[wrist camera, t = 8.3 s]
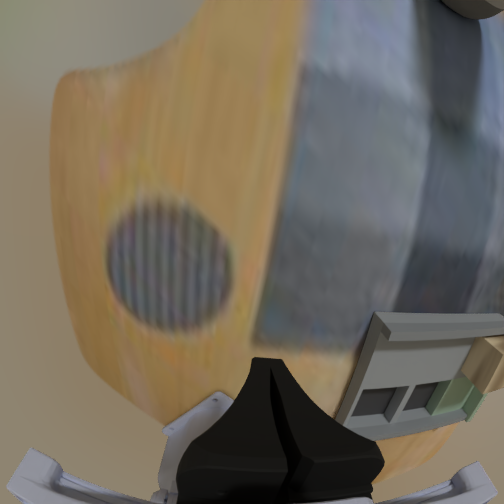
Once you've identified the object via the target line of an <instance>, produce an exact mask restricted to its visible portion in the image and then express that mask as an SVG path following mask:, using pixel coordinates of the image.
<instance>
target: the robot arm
mask: <svg viewBox="0 0 504 504" xmlns="http://www.w3.org/2000/svg"><path fill="white" fill-rule="evenodd" d="M215 399H217V400H215ZM162 432H163V433H164V434H165V435H167V436H169V437H168V440H167V444H166V448H165V451H164V455H163V459H162V462H161V466H160V470H159V473H158V483H159V487H160V490H159V491H156V492H154V493H153V495H152V497H151V500H150V501H146V500H142V499H138V498H135V497H131V496H128V495H125V494H121V493H118V492H115V491H112V490H109V489H106V488H103V487H101V486H98V485H95V484H92V483H90V482H87V481H85V480H82V479H80V478H77V477H75V476H73V475H71V474H69V473H66V472H64V471H63V469H62V468H61V466H60V464H59V463H58V462H57V461H55V460H54V459H52V458H51V457H49V456H47V455H45V454H43V453H41V452H39V451H37V450H36V449H34V448H30V449H29V450H28V452H27V453H26V455H25V456H24V458H23V460H22V461H21V463H20V464H19V466H18V468H17V469H16V471H15V472H14V474H13V476H12V478H11V479H10V481H9V482H8V484H7V486H6V487H7V489H8V490H9V491H10V492H11V493H12V494H13V495H14V496H15V497H16V498H17V499H18V500H19V501H20V502H21V503H22V504H374V503H373V500H372V497H371V493H372V491H373V487H372V484H371V483H372V481H373V480H374V479H375V478H376V477H377V475H378V474H379V473H380V472H381V470H382V468H383V467H384V463H385V461H384V459H383V456H382V454H381V451H380V449H379V447H378V446H377V444H376V442H375V441H372V440H370V439H368V438H365V437H363V436H361V435H359V434H357V433H355V432H353V431H351V430H349V429H348V428H346V427H344V426H343V425H341V424H340V423H338V422H337V421H335V420H334V419H333V418H331V417H330V416H329V415H327V414H326V413H325V412H324V411H323V410H322V409H320V408H319V407H318V406H317V405H316V404H315V403H314V402H313V401H312V400H311V399H310V398H309V396H308V395H307V394H306V393H305V392H304V391H303V389H302V388H301V387H300V386H299V384H298V383H297V382H296V380H295V379H294V377H293V376H292V374H291V373H290V371H289V370H288V368H287V367H286V365H285V363H284V362H283V360H282V359H272V358H259V357H254V358H253V359H252V362H251V368H250V372H249V375H248V377H247V379H246V382H245V384H244V386H243V387H242V389H241V391H240V393H239V394H238V396H237V397H236V399H235V400H232V399H231V398H229V397H228V396H226V395H225V394H224V393H222V392H215V393H214V394H212V395H211V396H209V397H208V398H207V399H205V400H204V401H202V402H201V403H200V404H198V405H197V406H195V407H194V408H192V409H191V410H189V411H188V412H186V413H185V414H183V415H182V416H180V417H179V418H177V419H176V420H174V421H173V422H171V423H170V424H168V425H167V426H165V427H164V428H163V429H162ZM497 493H498V492H497V490H496V488H495V487H494V485H493V484H492V482H491V480H490V479H489V477H488V475H487V474H486V472H485V471H484V469H483V467H482V466H481V464H480V463H479V461H476V462H474V463H472V464H470V465H468V466H465V467H464V468H462V469H460V470H459V471H458V472H457V473H456V474H455V475H454V476H453V477H452V479H450V480H448V481H445V482H443V483H440V484H437V485H435V486H432V487H429V488H427V489H424V490H421V491H418V492H415V493H412V494H409V495H405V496H402V497H398V498H395V499H392V500H387V501H383V502H379V503H375V504H487V503H488V502H489V501H490V500H491V499H492V498H494V497H495V496H496V495H497Z"/></svg>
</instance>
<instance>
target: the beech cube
mask: <svg viewBox="0 0 504 504" xmlns="http://www.w3.org/2000/svg"><path fill="white" fill-rule="evenodd" d="M461 371H462V372H463V374H464V375H465V376H466V377H467V378H468V379H469V380H470V381H471V382H472V383H473V384H474V386H475V387H476V388H477V389H478V390H479V391H480V392H481V393H482V394H486V393H489V392H492V391H495V390H498V389H501V388H503V387H504V334H501V335H492V336H482V337H476V338H475V340H474V343H473V345H472V347H471V350H470V352H469V354H468V356H467V358H466V361H465V363H464V365H463V367H462V369H461Z"/></svg>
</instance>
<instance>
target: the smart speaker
mask: <svg viewBox="0 0 504 504" xmlns="http://www.w3.org/2000/svg"><path fill="white" fill-rule="evenodd" d="M441 1H442V2H443V3H444V4H445V5H447V6H448V7H449V8H450V9H452V10H453V11H455V12H456V13H458V14H460V15H462V16H464V17H467V18H470V19H486V18H489V17H492V16H494V15H496V14H498V13H500V12H501V11H503V10H504V0H441Z"/></svg>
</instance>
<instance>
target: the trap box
mask: <svg viewBox="0 0 504 504" xmlns="http://www.w3.org/2000/svg"><path fill="white" fill-rule="evenodd" d="M501 334H504V317H503V316H502V315H500V314H499V313H492V314H431V313H396V312H374V314H373V318H372V321H371V324H370V328H369V331H368V334H367V337H366V340H365V343H364V346H363V349H362V352H361V355H360V358H359V361H358V363H357V366H356V369H355V372H354V374H353V377H352V380H351V382H350V385H349V387H348V390H347V392H346V395H345V397H344V400H343V402H342V404H341V407H340V409H339V412H338V414H337V416H336V418H335V421H337V422H338V423H340V424H341V425H343V426H344V427H346V428H348V429H349V430H351V431H353V432H355V433H357V434H359V435H361V436H363V437H365V438H368V439H370V440H372V441H376V440H382V439H388V438H394V437H400V436H405V435H410V434H414V433H419V432H423V431H427V430H431V429H435V428H439V427H443V426H446V425H450V424H453V423H456V422H460V421H463V420H465V421H466V422H469V421H471V419H472V418H473V416H474V415H475V413H476V412H477V410H478V409H479V407H480V405H481V404H482V402H483V401H484V399H485V397H486V396H487V394H488V393H486V394H482V393H481V392H480V391H479V390H478V389H477V388H476V387H475V386H474V384H473V383H472V382H471V381H470V380H469V379H468V378H467V377H466V376H465V375H464V374H463V372H462V371H461V369H462V367H463V365H464V363H465V361H466V358H467V356H468V354H469V352H470V350H471V347H472V345H473V343H474V340H475V338H476V337H482V336H492V335H501Z"/></svg>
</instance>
